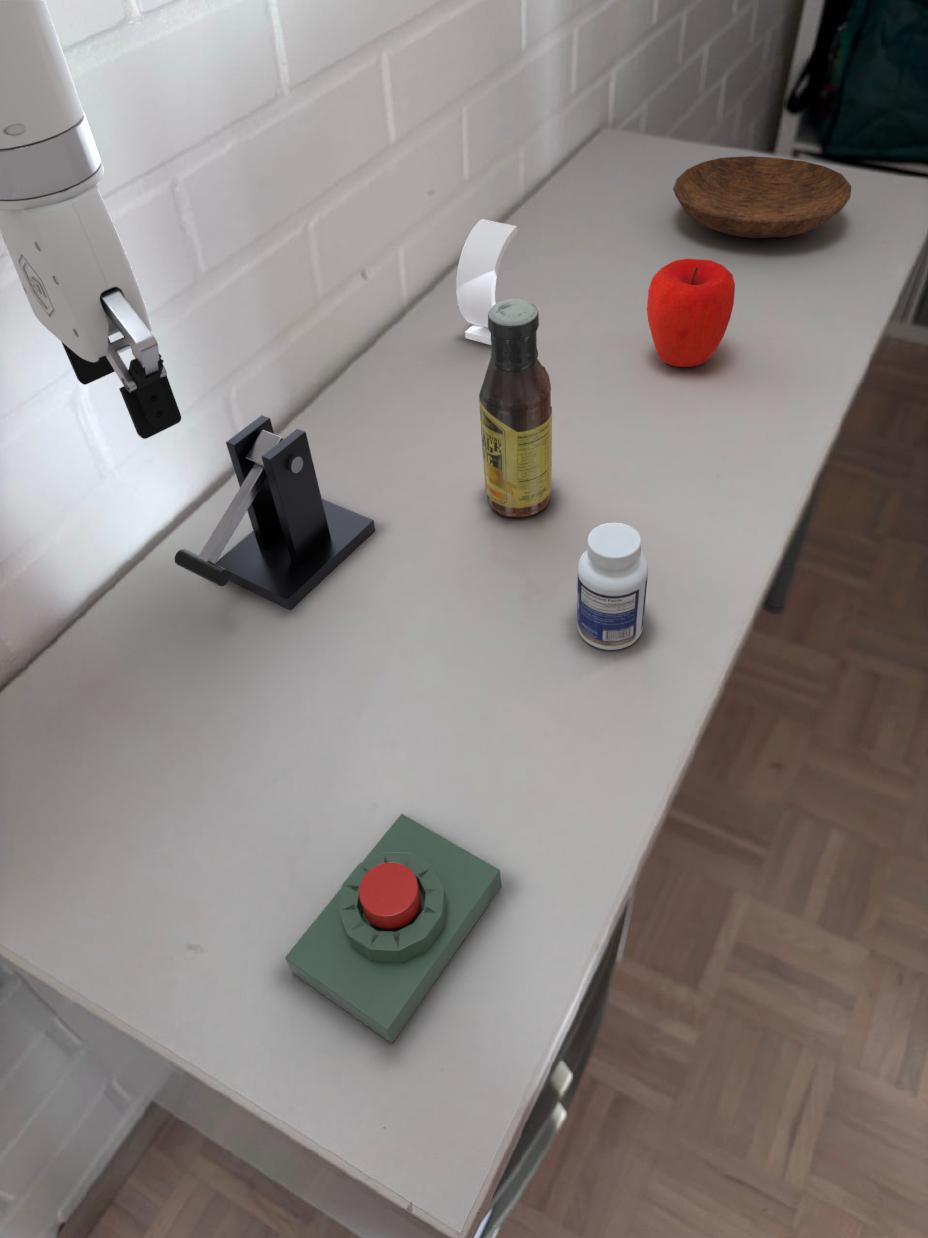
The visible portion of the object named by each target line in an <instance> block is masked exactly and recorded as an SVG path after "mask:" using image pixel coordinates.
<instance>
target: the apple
mask: <svg viewBox="0 0 928 1238" xmlns="http://www.w3.org/2000/svg"><path fill="white" fill-rule="evenodd" d="M735 292H736V283H735V279H734V275H733V273H732V272H730V270H729V269H727V268H726V266H724V265H722V264H721V263H718V262H716V261H714V260H711V259H700V258H699V259H698V258H683V259H676V260H674V261H671V262H669V263H667V264H666V265H664V266H662V267H661V268H660V269H659V270H658V271H657V272H656V273H655V274H653V276H652V277H651V281H650V284H649V287H648V291H647V302H646V314H647V315H646V316H647V322H648V327H649V331H650V334H651V338H652V342H653V344H654V347H655V351H656V354H657V355H658V357H659V359H660V361H662V362H663V363H665V364H668V365H670V366H671V367H672V366H673V367H677V368H678V367H679V368H691V367H693V368H694V367H697V366H700V365H703V364H704V363H706V361H708V360H709V359H710V358H711V357H712V356H713V354H714V353H715V352H716V350H717V349H718V348H719V346H720V344H721V342H722V340H723V338H724V336H725V334H726V331H727V329H728V326H729V324H730V321H731V317H732V312H733V308H734V305H735Z"/></svg>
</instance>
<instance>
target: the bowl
mask: <svg viewBox="0 0 928 1238" xmlns="http://www.w3.org/2000/svg"><path fill="white" fill-rule="evenodd" d="M672 190H673V193H674V196H675V198H676V199H677V201H678V203H679V205H680V206H681V208H682V210H683V211H684V212H685V213H686V214H687V215H688V216H689V217H690V218H691V219H692V220H695V222H697V223H699V224H701V225H702V226H704V227H706V228H707V229H711V230H714V231H716V232H720V233H723V234H726V235H729V236H735V237H741V238H748V239H768V238H788V237H792V236H796V235H801V234H805V233H808V232H811V231H812V230H814V229H816V228H818V227H820V226H822V225H824V224H825V223H827V222H828V221H829V220H831V219H832V218H833V217H834V216H836V215H837V214H838V213H839V212H841V211H842V210H843V209H844V207H845V206H846V204H847V203H848V201H849V200H850V199H851V194H852V185H851V184H850V182H849V180H847V179H846V177H845V176H844V174H842V173H841V172H840V171H839V172H838V171H837V170H834V169H832V168H830V167H827V166H824V165H820V164H817V163H812V162H809V161H803V160H797V159H790V158H789V159H787V158H780V157H769V156H768V157H767V156H753V155H749V156H748V155H747V156H729V157H719V158H714V159H710V160H706V161H701V162H700V163H697V164H695V165H693V166H691V167H689V168H687V169H686V170H684V171H683V172H682V173H681V174H680V175H679V176H678V177H677V178H676V179H675V182H674V185H673V188H672Z"/></svg>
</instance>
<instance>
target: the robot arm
mask: <svg viewBox="0 0 928 1238" xmlns="http://www.w3.org/2000/svg"><path fill="white" fill-rule="evenodd" d="M87 118H88V117H87V116H86V113H85V111H84V108H83V105H82V103H81V100H80V97H79V94H78V91H77V87H76V84H75V82H74V79H73V77H72V74H71V70H70V68H69V65H68V61H67V59H66V56H65V53H64V50H63V48H62V43H61V41H60V38H59V35H58V33H57V29H56V27H55V25H54V21H53V18H52V16H51V13H50V10H49V6H48V4H47V1H46V0H0V233H1V235H2V239H3V241H4V244H5V246H6V248H7V251H8V253H9V257H10V259H11V261H12V263H13V266H14V269H15V271H16V274H17V276H18V279H19V281H20V283H21V286H22V289H23V291H24V294H25V296H26V299H27V302H28V303H29V305H30V308H31V311H32V312H33V314H34V316H35V317H36V319H37V320H38V321H39V322H40V323H41V324H42V325H43V326H44V327H45V328H46V329H47V330H48V331H49V332H50V333H51V334H52V335H53V336H54V337H56V338H57V339H58V340H59V341H60V342H61V344H62V347H63V349H64V351H65V354H66V356H67V358H68V361H69V363H70V365H71V367H72V370H73V372H74V374H75V377H76V379H77V381H78V382H79V383H81V385H83V386H84V385H85V386H86V385H89V384H91V383H93V382H95V381H98V380H99V379H102V378H105V377H106V376H108V375H111V374H113V373H115V374H116V375H117V377H118V379H119V381H120V382H121V384H122V385H123V386H121V387H119V388H118V389H119V392H120V394H121V397H122V400H123V402H124V404H125V407H126V409H127V412H128V415H129V417H130V419H131V421H132V424H133V427H134V429H135V432H136V434H137V435H138V436H139V437H140V438H141V439H142V440H146V439H149V438H152V437H154V436H155V435H157V434H160V433H161V432H163V431H165V430H167V429H170V428H171V427H173V426H175V425H177V424H179V423H180V422H181V421H182V414H181V412H180V408H179V406H178V403H177V400H176V397H175V395H174V391H173V390H172V387H171V384H170V380H169V378H168V371H167V369H166V367H165V365H164V362H165V361H164V359H163V358H162V355H161V354H160V351H159V344H158V341H157V339H156V337H155V335H154V334H153V333H152V331H153V325H152V323H151V322H152V321H151V317H150V314H149V311H148V308H147V305H146V302H145V299H144V296H143V293H142V290H141V287H140V285H139V282H138V280H137V277H136V274H135V272H134V269H133V266H132V264H131V262H130V259H129V257H128V254H127V252H126V249H125V246H124V244H123V243H122V240H121V237H120V235H119V232H118V230H117V228H116V226H115V223H114V219H113V217H112V216H111V214H110V211H109V209H108V207H107V205H106V202H105V200H104V198H103V196H102V193H101V191H100V188H99V187H98V184H99V182H100V181H101V180H102V179H103V177H104V175H105V167H104V165H103V162H102V159H101V156H100V154H99V151H98V147H97V145H96V142H95V138H94V136H93V132H92V130H91V127H90V125H89V122H88V119H87ZM117 333H120V334H121V335H122V336H123V337H121V338H118V339H117V340H114V341H111V339H110V338H109V337H111V336H113V335H116V334H117ZM130 349H131V353H132V356H133V357H134V358H133V359H131V360H130V362H129V367H127V365H126V364H125V362H124V360H123V359H122V357H121V356H120V354H121V353H124V352H126V351H128V350H130Z"/></svg>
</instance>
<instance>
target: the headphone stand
mask: <svg viewBox="0 0 928 1238" xmlns="http://www.w3.org/2000/svg"><path fill="white" fill-rule="evenodd" d="M517 235H518V225H513V224H508V223H504V222H498V221H493V220H489V219H484V218H481V219H480V220H478V221H477V222H476V224H475V225H474V226H473V228H471V231H470V232H469V234H468V236H467V238H466V240H465V242H464V245H463V247H462V250H461V253H460V256H459V260H458V264H457V271H456V282H455V291H456V293H455V294H456V300H457V301H456V302H457V305H458V310H459V311H460V313H461V316H462V317H463V319H464V320H465V321H467V322H468V323H469V324H472V325H471V326H470V327H469V328H467V330H465V331H464V335H465V336H464V337H465V339H466V340H470V341H474V342H478V343H481V344H486V345H489V346H491V333H490V331H489V329H488V313H489V310H490V309H491V308H492V307H493V306H494V305H495V304H497V302H496V286H497V280H498V279H497V277H498V273H499V269H500V265H501V263H502V259H503V257H504V254H505V253H506V250H507V248H508V246H509V245H510V243H511V242H512V240H513V239H514V238H515V237H516V236H517Z"/></svg>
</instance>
